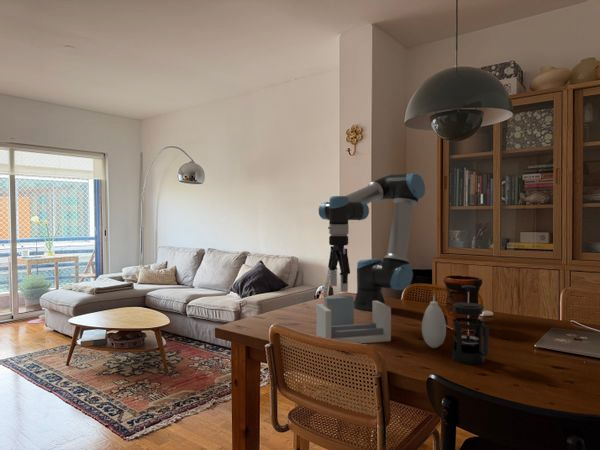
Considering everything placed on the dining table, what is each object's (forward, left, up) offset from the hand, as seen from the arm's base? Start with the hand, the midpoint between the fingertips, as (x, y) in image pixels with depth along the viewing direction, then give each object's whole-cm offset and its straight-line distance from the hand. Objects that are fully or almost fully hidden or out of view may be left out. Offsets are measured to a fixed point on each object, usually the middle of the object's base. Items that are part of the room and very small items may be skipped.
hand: (338, 288), depth 171 cm
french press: (-27, +46, -16) cm, 56 cm away
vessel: (-47, +12, -16) cm, 51 cm away
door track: (0, +16, -15) cm, 22 cm away
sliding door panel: (0, 0, -15) cm, 15 cm away
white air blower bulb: (-23, +32, -16) cm, 42 cm away
